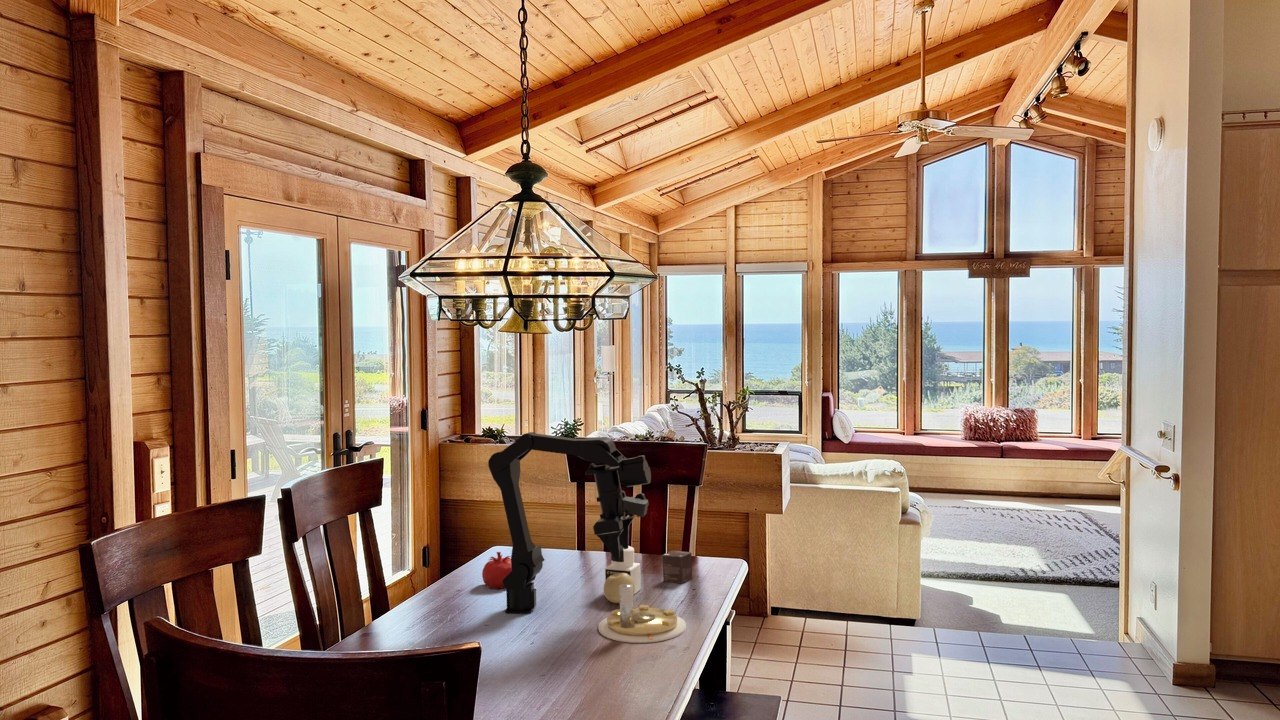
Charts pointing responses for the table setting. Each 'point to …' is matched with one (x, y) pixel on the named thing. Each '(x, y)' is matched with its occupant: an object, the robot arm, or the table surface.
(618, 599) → the apple
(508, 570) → the pomegranate
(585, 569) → the table surface
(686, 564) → the box
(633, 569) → the medicine bottle
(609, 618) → the brass lugged disc
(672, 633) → the base plate
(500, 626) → the table surface
